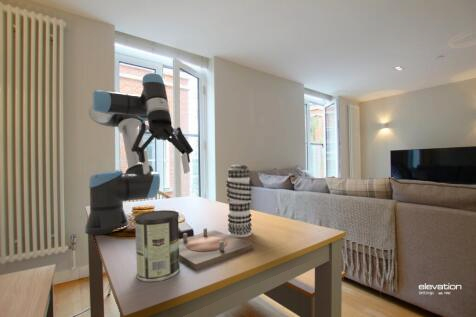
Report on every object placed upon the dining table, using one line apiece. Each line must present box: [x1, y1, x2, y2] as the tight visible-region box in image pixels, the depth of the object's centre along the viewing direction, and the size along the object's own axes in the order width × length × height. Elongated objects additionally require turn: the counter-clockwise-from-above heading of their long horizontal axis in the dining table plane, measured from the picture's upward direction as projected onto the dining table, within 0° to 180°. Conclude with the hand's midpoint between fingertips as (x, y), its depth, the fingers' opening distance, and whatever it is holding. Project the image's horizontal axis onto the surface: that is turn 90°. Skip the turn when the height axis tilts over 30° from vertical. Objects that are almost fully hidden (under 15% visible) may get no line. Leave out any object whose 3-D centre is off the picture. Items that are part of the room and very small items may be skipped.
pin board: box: [179, 227, 254, 271], centre depth 74 cm, size 20×20×4 cm
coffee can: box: [134, 209, 181, 283], centre depth 60 cm, size 10×10×14 cm
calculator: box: [178, 222, 195, 239], centre depth 85 cm, size 11×4×15 cm
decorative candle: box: [225, 164, 253, 238], centre depth 88 cm, size 9×9×25 cm
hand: (168, 172), depth 77 cm, fingers open, 13 cm apart
